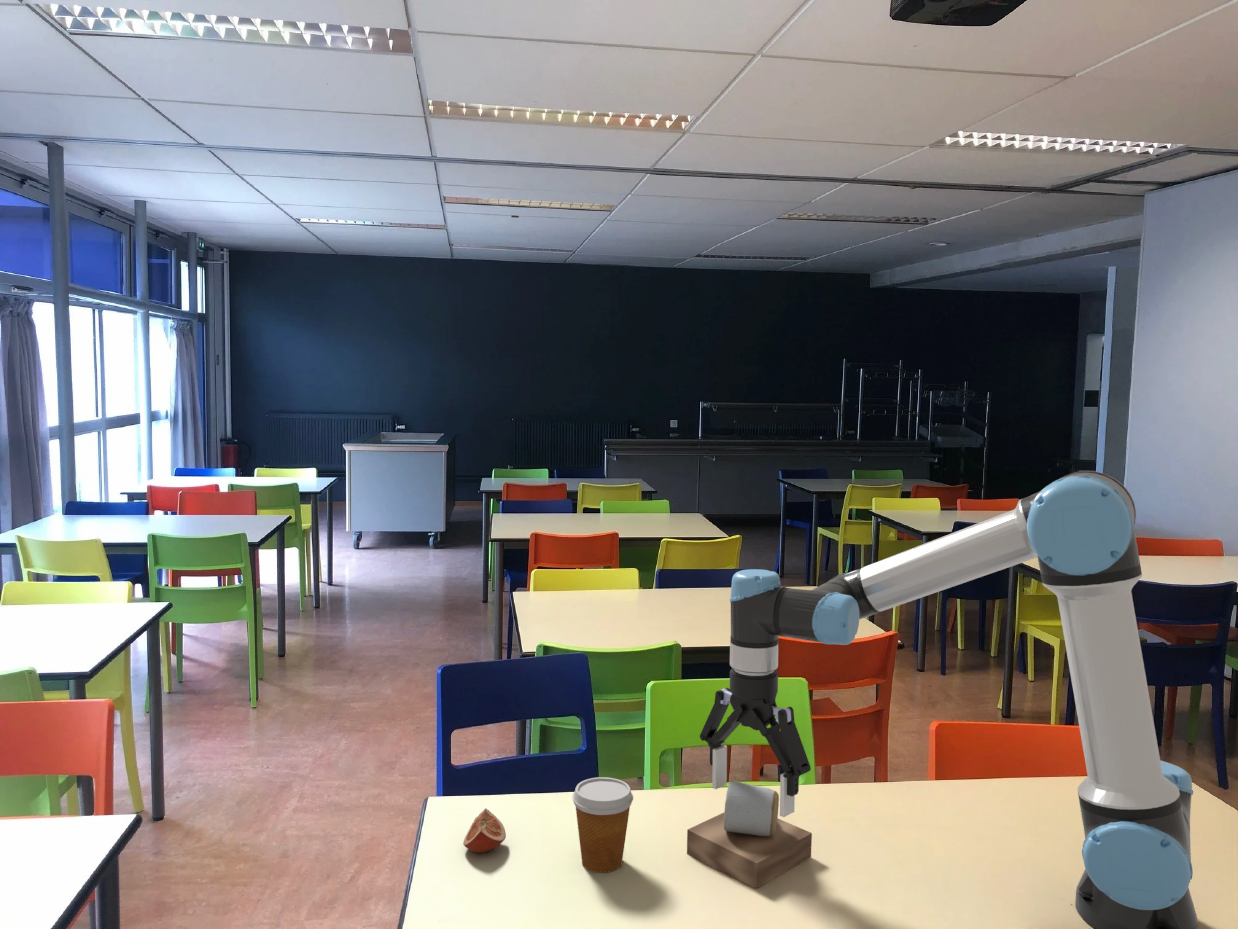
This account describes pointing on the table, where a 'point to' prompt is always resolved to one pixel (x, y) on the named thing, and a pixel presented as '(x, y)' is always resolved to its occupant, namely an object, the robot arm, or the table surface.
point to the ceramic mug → (751, 809)
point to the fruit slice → (485, 833)
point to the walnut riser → (749, 850)
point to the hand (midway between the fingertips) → (752, 800)
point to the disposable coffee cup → (602, 821)
